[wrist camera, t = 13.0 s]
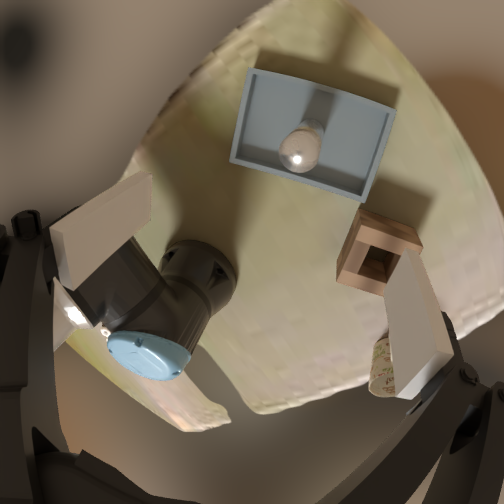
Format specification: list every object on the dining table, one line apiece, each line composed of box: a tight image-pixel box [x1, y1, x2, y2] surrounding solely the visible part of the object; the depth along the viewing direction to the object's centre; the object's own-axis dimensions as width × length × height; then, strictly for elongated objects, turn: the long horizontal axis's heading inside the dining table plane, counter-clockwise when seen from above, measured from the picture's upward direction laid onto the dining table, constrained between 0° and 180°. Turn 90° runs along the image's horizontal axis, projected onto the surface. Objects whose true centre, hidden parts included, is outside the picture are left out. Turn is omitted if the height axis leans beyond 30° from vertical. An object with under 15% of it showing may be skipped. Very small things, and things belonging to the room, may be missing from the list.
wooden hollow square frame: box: [336, 208, 424, 297], centre depth 43 cm, size 10×10×6 cm
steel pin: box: [279, 119, 324, 173], centre depth 32 cm, size 4×4×16 cm
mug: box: [369, 334, 395, 397], centre depth 51 cm, size 8×13×10 cm, turn 18°
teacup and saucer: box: [101, 327, 111, 342], centre depth 76 cm, size 9×8×4 cm
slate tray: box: [229, 67, 397, 203], centre depth 38 cm, size 20×14×3 cm
